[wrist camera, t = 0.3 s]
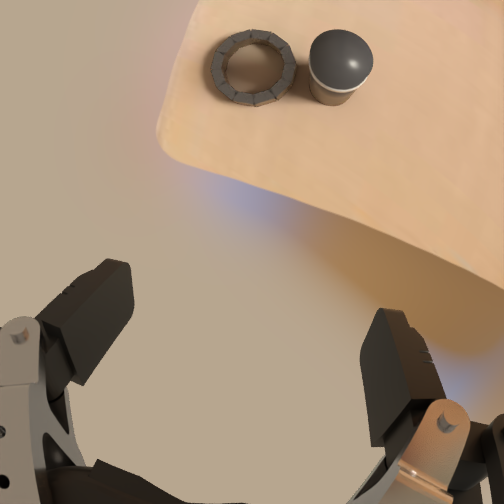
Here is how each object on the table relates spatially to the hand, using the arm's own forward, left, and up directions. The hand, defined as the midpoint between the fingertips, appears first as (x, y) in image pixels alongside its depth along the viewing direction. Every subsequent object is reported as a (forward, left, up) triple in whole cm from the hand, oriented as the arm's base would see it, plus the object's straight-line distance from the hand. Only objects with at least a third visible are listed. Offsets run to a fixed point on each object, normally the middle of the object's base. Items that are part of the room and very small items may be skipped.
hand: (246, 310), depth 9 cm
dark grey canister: (-13, +2, -28) cm, 31 cm away
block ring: (-13, -7, -28) cm, 31 cm away
